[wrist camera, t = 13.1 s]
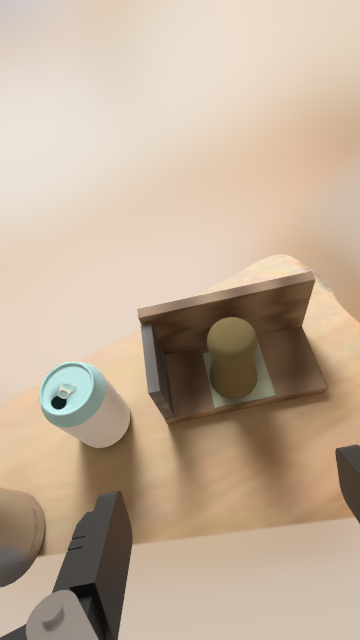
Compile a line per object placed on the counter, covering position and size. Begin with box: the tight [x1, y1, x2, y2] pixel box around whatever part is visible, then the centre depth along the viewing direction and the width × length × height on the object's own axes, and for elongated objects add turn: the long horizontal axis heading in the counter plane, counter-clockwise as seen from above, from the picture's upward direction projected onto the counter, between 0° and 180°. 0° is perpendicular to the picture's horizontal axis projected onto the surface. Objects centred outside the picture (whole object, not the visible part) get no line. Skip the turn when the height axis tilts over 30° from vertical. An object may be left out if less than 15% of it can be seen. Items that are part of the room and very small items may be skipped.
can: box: [39, 362, 130, 448], centre depth 39 cm, size 7×7×12 cm
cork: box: [207, 317, 257, 399], centre depth 39 cm, size 6×6×11 cm
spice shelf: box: [138, 271, 327, 424], centre depth 41 cm, size 20×10×12 cm, turn 99°
